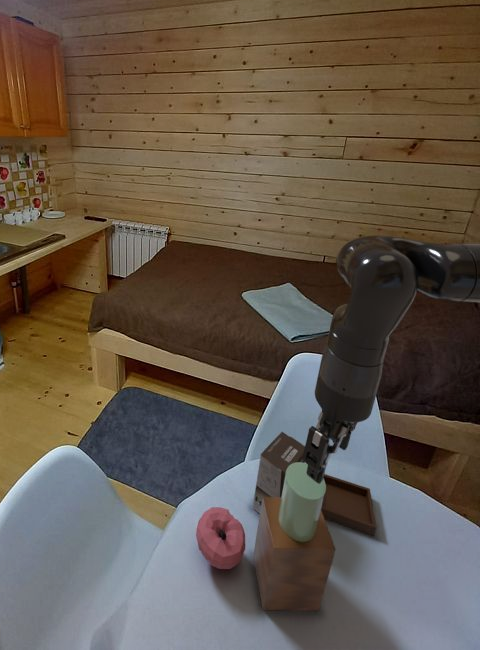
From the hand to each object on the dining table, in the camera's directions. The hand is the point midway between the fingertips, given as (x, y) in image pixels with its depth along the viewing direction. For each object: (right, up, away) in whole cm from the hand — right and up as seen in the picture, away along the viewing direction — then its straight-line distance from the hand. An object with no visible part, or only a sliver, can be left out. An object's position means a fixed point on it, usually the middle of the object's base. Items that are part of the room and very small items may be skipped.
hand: (327, 460), depth 53 cm
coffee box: (-1, -25, +24) cm, 35 cm away
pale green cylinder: (-3, -14, +5) cm, 15 cm away
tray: (+14, -26, +24) cm, 38 cm away
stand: (-3, -30, +11) cm, 32 cm away
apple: (-15, -28, +14) cm, 35 cm away
